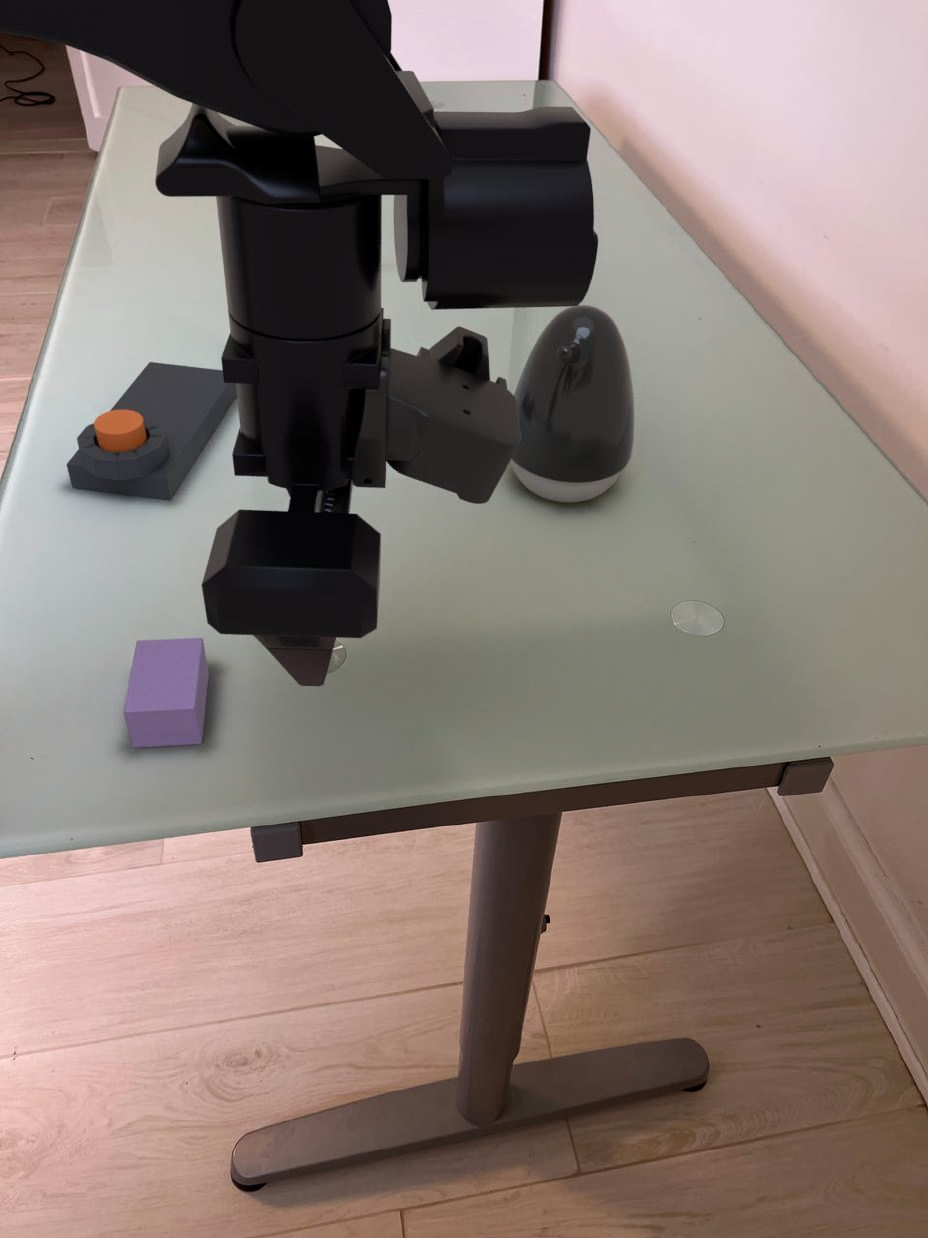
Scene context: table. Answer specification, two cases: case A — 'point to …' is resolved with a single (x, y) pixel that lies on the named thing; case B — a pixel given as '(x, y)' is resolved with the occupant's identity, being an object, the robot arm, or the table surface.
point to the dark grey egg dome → (575, 408)
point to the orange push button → (120, 430)
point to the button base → (156, 432)
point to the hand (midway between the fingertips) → (320, 615)
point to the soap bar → (167, 693)
